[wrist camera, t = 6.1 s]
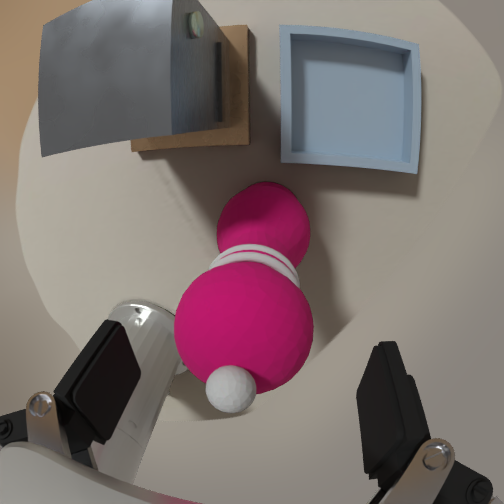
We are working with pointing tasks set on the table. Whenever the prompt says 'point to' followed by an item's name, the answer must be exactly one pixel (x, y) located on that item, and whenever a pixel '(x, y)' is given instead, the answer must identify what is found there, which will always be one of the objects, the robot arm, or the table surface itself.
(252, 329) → the pepper mill
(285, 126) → the parts tray
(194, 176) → the table surface
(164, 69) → the control unit
